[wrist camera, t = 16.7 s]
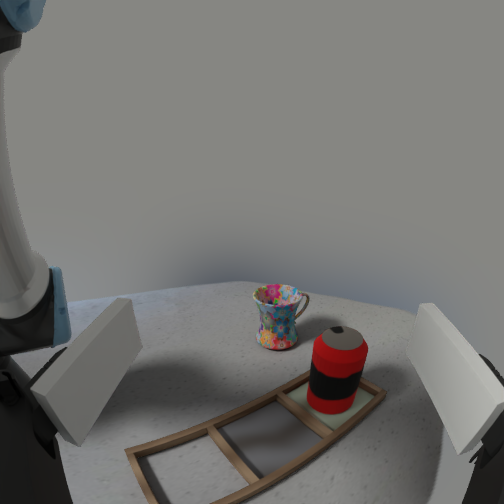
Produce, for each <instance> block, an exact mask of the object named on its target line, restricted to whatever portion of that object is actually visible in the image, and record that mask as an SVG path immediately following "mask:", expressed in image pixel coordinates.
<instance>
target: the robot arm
mask: <svg viewBox="0 0 504 504" xmlns="http://www.w3.org/2000/svg"><path fill="white" fill-rule="evenodd" d="M45 2H46V0H0V504H73V502H72V499H71V495H70V492H69V489H68V485H67V481H66V477H65V473H64V469H63V465H62V460H61V456H60V451H59V445H58V441H57V439H56V437H55V434H56V433H57V431H58V432H59V433H60V435H61V436H62V437H63V438H64V440H65V441H67V442H70V443H72V444H74V445H76V446H78V447H81V445H82V443H83V441H84V440H85V438H86V436H87V435H88V433H89V431H90V430H91V428H92V426H93V425H94V423H95V421H96V420H97V418H98V416H99V415H100V413H101V412H102V410H103V408H104V407H105V405H106V403H107V402H108V400H109V399H110V397H111V395H112V394H113V392H114V391H115V389H116V388H117V386H118V384H119V383H120V381H121V380H122V378H123V377H124V375H125V373H126V372H127V370H128V369H129V367H130V366H131V364H132V363H133V361H134V360H135V358H136V356H137V355H138V353H139V352H140V350H141V349H142V343H141V339H140V335H139V331H138V327H137V323H136V319H135V314H134V310H133V305H132V300H131V299H125V298H117V299H116V300H115V301H114V302H113V303H112V304H111V305H110V306H109V307H107V308H106V309H105V310H104V311H103V312H102V313H101V314H100V315H99V316H98V317H97V318H96V319H95V320H94V321H93V322H92V323H91V324H90V325H89V326H88V327H87V328H86V329H85V330H84V331H83V332H82V333H81V334H80V335H79V336H78V337H77V338H76V339H75V340H74V342H73V343H72V344H71V345H70V346H69V347H65V348H63V349H62V350H60V351H58V352H57V353H55V354H54V356H53V357H52V358H51V359H50V360H49V362H47V363H46V364H45V365H44V366H43V368H41V369H40V370H39V371H38V372H37V374H36V375H35V376H34V377H33V378H32V379H30V377H29V376H28V375H27V374H26V373H25V372H24V371H23V370H22V368H21V367H20V366H19V365H18V364H17V363H16V362H15V361H14V360H13V359H12V358H11V356H10V355H14V354H19V353H24V352H29V351H34V350H39V349H43V348H49V347H51V348H54V347H55V346H57V345H60V344H64V343H67V342H68V341H69V340H70V338H71V326H70V320H69V314H68V308H67V302H66V296H65V290H64V283H63V277H62V271H61V269H60V268H59V267H53V266H51V267H50V268H48V265H47V263H46V261H45V259H44V258H43V257H42V256H41V255H40V254H39V253H37V252H36V251H33V250H31V247H30V244H29V241H28V238H27V235H26V232H25V228H24V225H23V221H22V218H21V214H20V210H19V207H18V203H17V198H16V194H15V189H14V184H13V179H12V175H11V169H10V162H9V156H8V148H7V140H6V131H5V116H4V72H5V70H6V68H7V66H8V64H9V63H10V62H11V61H12V60H13V58H14V57H15V56H16V55H17V53H18V52H19V51H20V48H21V47H20V46H21V39H22V33H23V32H27V31H29V30H31V29H33V28H34V27H35V26H37V25H38V23H39V21H40V19H41V17H42V13H43V7H44V5H45ZM406 354H407V356H408V357H409V359H410V361H411V363H412V364H413V366H414V368H415V370H416V372H417V373H418V375H419V377H420V379H421V381H422V383H423V385H424V386H425V388H426V390H427V392H428V394H429V396H430V398H431V400H432V402H433V404H434V406H435V408H436V410H437V412H438V414H439V416H440V418H441V420H442V422H443V424H444V426H445V428H446V430H447V433H448V435H449V437H450V439H451V441H452V444H453V446H454V448H455V451H456V453H457V455H461V454H463V453H465V452H467V451H470V450H472V449H473V448H474V447H475V446H476V445H477V444H478V442H479V441H480V440H481V441H482V443H483V445H482V447H481V448H480V449H479V450H478V451H477V452H476V453H475V454H474V456H473V457H472V458H471V459H470V461H469V463H471V462H472V461H473V460H474V459H475V458H476V457H477V456H478V457H477V460H476V462H475V463H474V464H475V467H474V471H473V474H472V477H471V480H470V483H469V486H468V488H467V491H466V494H465V497H464V499H463V501H462V504H504V379H503V378H502V376H500V374H499V372H498V371H497V370H495V367H494V366H493V365H492V363H491V362H490V361H489V360H488V359H487V358H485V357H484V356H482V355H481V354H477V352H476V351H475V350H474V349H473V348H472V346H471V345H470V344H469V343H468V342H467V340H466V339H465V338H464V337H463V336H462V335H461V333H460V332H459V331H458V330H457V329H456V328H455V327H454V325H453V324H452V323H451V322H450V321H449V320H448V319H447V318H446V317H445V316H444V315H443V313H442V312H441V311H440V310H439V309H438V308H437V307H436V306H435V305H434V304H433V303H426V304H420V306H419V310H418V313H417V317H416V321H415V324H414V327H413V331H412V334H411V337H410V340H409V343H408V346H407V349H406Z"/></svg>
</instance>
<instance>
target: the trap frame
mask: <svg viewBox="0 0 504 504" xmlns="http://www.w3.org/2000/svg"><path fill="white" fill-rule="evenodd" d="M309 376H310V370H309V371H307V372H305V373H304V374H302V375H300V376H298V377H297V378H295V379H293V380H291V381H289V382H288V383H286V384H284V385H282V386H280V387H278V388H277V389H275V390H273V391H271V392H269V393H267V394H265V395H263V396H261V397H259V398H257V399H255V400H253V401H251V402H249V403H247V404H245V405H242V406H240V407H238V408H236V409H234V410H232V411H229V412H227V413H225V414H223V415H220V416H218V417H216V418H213V419H211V420H208V421H206V422H204V423H201V424H199V425H196V426H193V427H191V428H188V429H186V430H183V431H180V432H177V433H175V434H172V435H169V436H166V437H163V438H160V439H157V440H154V441H151V442H148V443H144V444H141V445H138V446H134V447H131V448H127V449H124V450H125V452H126V455H127V457H128V460H129V462H130V465H131V467H132V469H133V472H134V474H135V476H136V478H137V481H138V483H139V485H140V487H141V489H142V491H143V493H144V495H145V497H146V499H147V501H148V503H149V504H159V502H158V501H157V499H156V497H155V495H154V493H153V491H152V489H151V487H150V485H149V483H148V481H147V479H146V477H145V475H144V473H143V471H142V469H141V467H140V465H139V462H138V460H137V458H139V457H142V456H146V455H149V454H152V453H155V452H158V451H161V450H164V449H167V448H170V447H173V446H176V445H179V444H181V443H184V442H187V441H189V440H192V439H194V438H197V437H199V436H202V435H204V434H207V433H208V434H209V435H210V437H211V438H212V439H213V441H214V442H215V443H216V445H217V446H218V447H219V449H220V450H221V451H222V452H223V454H224V455H225V456H226V457H227V459H228V460H229V461H230V462H231V463H232V465H233V466H234V467H235V468H236V469H237V471H238V472H239V473H240V474H241V475H242V476H243V478H244V479H245V480H246V481H247V482H248V483H249V484H250V485H249V486H247V487H245V488H243V489H241V490H239V491H237V492H235V493H232V494H230V495H228V496H226V497H224V498H222V499H219V500H217V501H215V502H212V503H210V504H237V503H239V502H241V501H243V500H245V499H247V498H249V497H251V496H253V495H255V494H257V493H259V492H260V491H262V490H264V489H266V488H268V487H269V486H271V485H273V484H275V483H276V482H278V481H280V480H281V479H283V478H284V477H286V476H288V475H289V474H291V473H292V472H294V471H295V470H297V469H299V468H300V467H302V466H303V465H304V464H306V463H307V462H309V461H310V460H312V459H313V458H314V457H316V456H317V455H319V454H320V453H321V452H323V451H324V450H325V449H327V448H328V447H329V446H331V445H332V444H333V443H334V442H336V441H337V440H338V439H340V438H341V437H342V436H343V435H344V434H346V433H347V432H348V431H349V430H350V429H352V428H353V427H354V426H355V425H356V424H357V423H359V422H360V421H361V420H362V419H363V418H364V417H365V416H366V415H367V414H369V413H370V412H371V411H372V410H373V409H374V408H375V407H376V406H377V405H378V404H379V403H380V402H381V401H382V400H383V399H384V398H385V396H386V394H387V391H385V390H383V389H381V388H380V387H378V386H376V385H374V384H373V383H371V382H369V381H368V380H366V379H364V378H362V377H361V379H360V382H359V386H358V389H357V392H356V395H355V399H354V402H353V404H352V406H351V407H350V408H349V409H348V410H346V411H344V412H342V413H339V414H323V413H320V412H318V411H316V410H315V409H313V408H312V407H311V406H310V405H309V403H308V402H307V389H308V383H309ZM277 401H278V402H277ZM285 408H286V409H285ZM291 413H292V414H293V415H292V414H291ZM298 419H299V420H298ZM303 423H304V424H303ZM309 428H310V429H309ZM314 432H315V433H314ZM318 435H319V436H318Z"/></svg>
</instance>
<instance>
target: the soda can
mask: <svg viewBox="0 0 504 504" xmlns="http://www.w3.org/2000/svg"><path fill="white" fill-rule="evenodd" d="M367 353H368V345H367V343H366V342H365V340H364V339H363V336H362V335H361V334H360V333H359V332H358V331H357V330H355V329H352V328H349V327H342V326H338V327H332V328H329V329H327V330H325V331H324V332H323V333H322V334H321V335H320V336H318V337H317V338H316V340H315V341H314V345H313V353H312V361H311V369H310V376H309V383H308V389H307V402H308V403H309V405H310V406H311V407H312V408H313V409H315V410H316V411H318V412H320V413H323V414H339V413H342V412H344V411H346V410H348V409H349V408H350V407H351V406H352V404H353V402H354V399H355V395H356V392H357V389H358V386H359V382H360V379H361V375H362V372H363V368H364V364H365V361H366V357H367Z"/></svg>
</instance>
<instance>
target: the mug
mask: <svg viewBox="0 0 504 504" xmlns="http://www.w3.org/2000/svg"><path fill="white" fill-rule="evenodd" d="M303 296H306V297H307V300H306V303H305V305H304V307H303V308H302V309H301V311H300V312H299V313H298V314H297V315H296V316H295V314H296V311H297V308H298V306H299V304H300V302H301V300H302V298H303ZM253 298H254V300H255V302H256V304H257V306H258V309H259V313H260V328H259V330H258V332H257V334H256V340H257V342H258V343H259V344H260V345H261V346H263V347H265V348H268V349H274V350H281V349H286V348H289V347H291V346H293V345H294V344H295V343H296V342H297V339H298V335H297V333H296V330H295V325H294V324H296V322H295V321H294V320H296V319H297V318H298V317H299V316H300V315H301V314H302V313H303V312H304V310H305V309H306V307H307V305H308V303H309V296H308V295H307V294H305V293H302V292H301V291H300V290H299V289H297V288H295V287H292V286H288V285H280V284H276V285H267V286H263V287H261V288H258V289H257V290H256V291H255V292H254V294H253Z"/></svg>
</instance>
